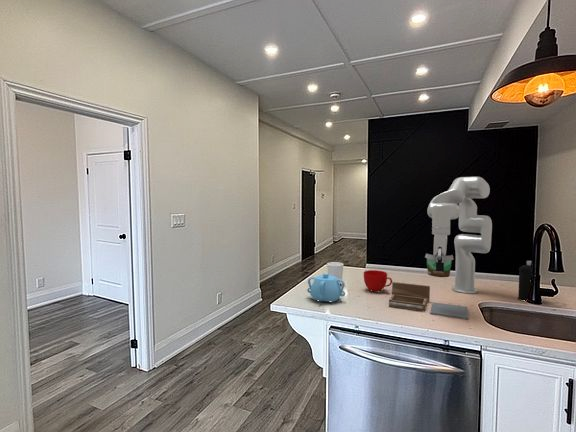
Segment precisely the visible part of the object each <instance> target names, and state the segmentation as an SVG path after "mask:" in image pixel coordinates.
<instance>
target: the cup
mask: <svg viewBox="0 0 576 432" xmlns="http://www.w3.org/2000/svg"><path fill="white" fill-rule="evenodd" d="M326 268H327V273H328V274H329V275H330V276H335V277H336V278H337V279H341V280H343V273H344V263H343V262H338V261H335V262H334V261H332V262H327V263H326ZM341 283H342V282H340V281H339V284H341ZM341 285H342V284H341Z"/></svg>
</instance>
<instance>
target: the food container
mask: <svg viewBox="0 0 576 432" xmlns="http://www.w3.org/2000/svg"><path fill="white" fill-rule="evenodd" d="M441 256H443V255H441ZM424 258H426V268H427V269H426V270H427V275H428V276H430V277H435V278H437V277H438V278H449V277H451V276H450V275H451V268H452V261H453V260H454V256H453V254H451V255H445V256H444V257H443V263H444V271H443V272H442V271H436V261H437V254H436V255H435V256H434V255H433V254H430V253H425V256H424ZM441 258H442V257H441Z"/></svg>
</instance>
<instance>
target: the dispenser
mask: <svg viewBox="0 0 576 432" xmlns="http://www.w3.org/2000/svg"><path fill="white" fill-rule="evenodd" d="M430 292H431V286H430V285H422V284H416V283H406V282H405V283H404V282H398V281H397V282H396V281H392V284H391V297H390V298H389V299H388V307H391V306H392V308H399V309H406V310H413V311H420V312H426V308H427V305H428V303H430V301H431V300H430V298H431V297H430V296H431V295H430V294H431V293H430Z"/></svg>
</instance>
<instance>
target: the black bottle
mask: <svg viewBox="0 0 576 432" xmlns="http://www.w3.org/2000/svg"><path fill="white" fill-rule="evenodd" d="M531 265H532V260H526V264H525V265H521V266H520V267H519V268H518V271H519V272H518V273H519V274H518V293H517V294H518V297H517V299H518V300H519V299H521V300H525V301H526V300H527V298H528V295H529V292H530V287H531V285H532V283H531V282H530V280H531ZM521 300H520V301H521Z"/></svg>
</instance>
